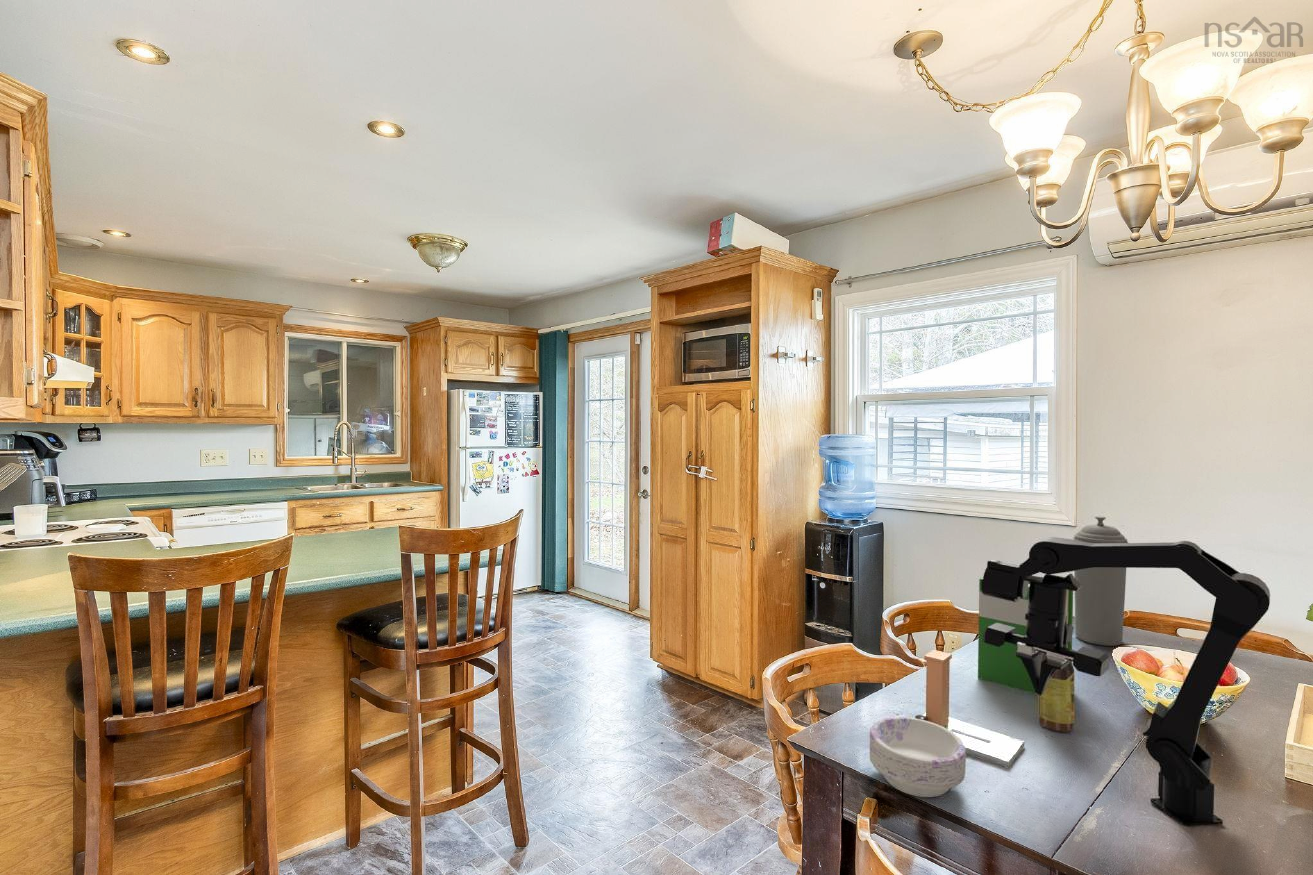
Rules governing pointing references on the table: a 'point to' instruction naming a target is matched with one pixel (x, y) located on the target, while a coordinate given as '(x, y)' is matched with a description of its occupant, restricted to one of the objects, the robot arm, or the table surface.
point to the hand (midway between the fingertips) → (1039, 694)
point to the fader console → (984, 742)
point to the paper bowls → (917, 755)
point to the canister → (1100, 592)
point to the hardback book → (1002, 660)
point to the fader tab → (937, 687)
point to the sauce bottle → (1058, 700)
